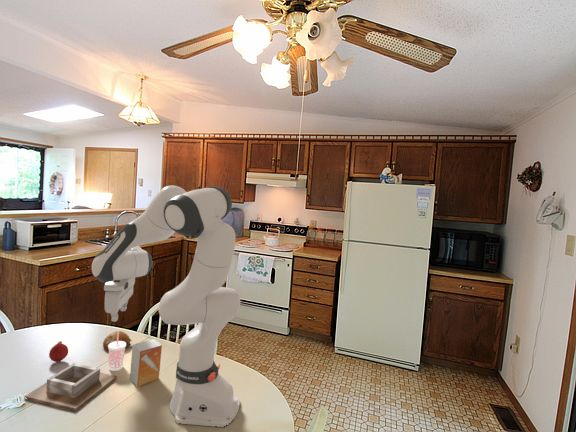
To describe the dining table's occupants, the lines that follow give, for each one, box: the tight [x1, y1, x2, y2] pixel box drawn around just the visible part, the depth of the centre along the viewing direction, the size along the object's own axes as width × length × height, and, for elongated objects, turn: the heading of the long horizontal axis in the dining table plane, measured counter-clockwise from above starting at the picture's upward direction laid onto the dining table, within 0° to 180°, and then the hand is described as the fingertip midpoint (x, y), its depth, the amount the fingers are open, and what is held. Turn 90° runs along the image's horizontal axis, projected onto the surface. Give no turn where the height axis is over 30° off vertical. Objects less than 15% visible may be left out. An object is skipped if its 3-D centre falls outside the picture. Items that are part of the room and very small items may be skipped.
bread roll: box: [102, 330, 132, 352], centre depth 137 cm, size 10×10×8 cm
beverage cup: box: [108, 330, 126, 372], centre depth 121 cm, size 6×6×14 cm
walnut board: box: [24, 362, 117, 412], centre depth 107 cm, size 18×18×5 cm
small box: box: [129, 338, 163, 388], centre depth 116 cm, size 8×6×13 cm
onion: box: [48, 340, 69, 363], centre depth 120 cm, size 6×6×8 cm
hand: (119, 315), depth 120 cm, fingers open, 8 cm apart
